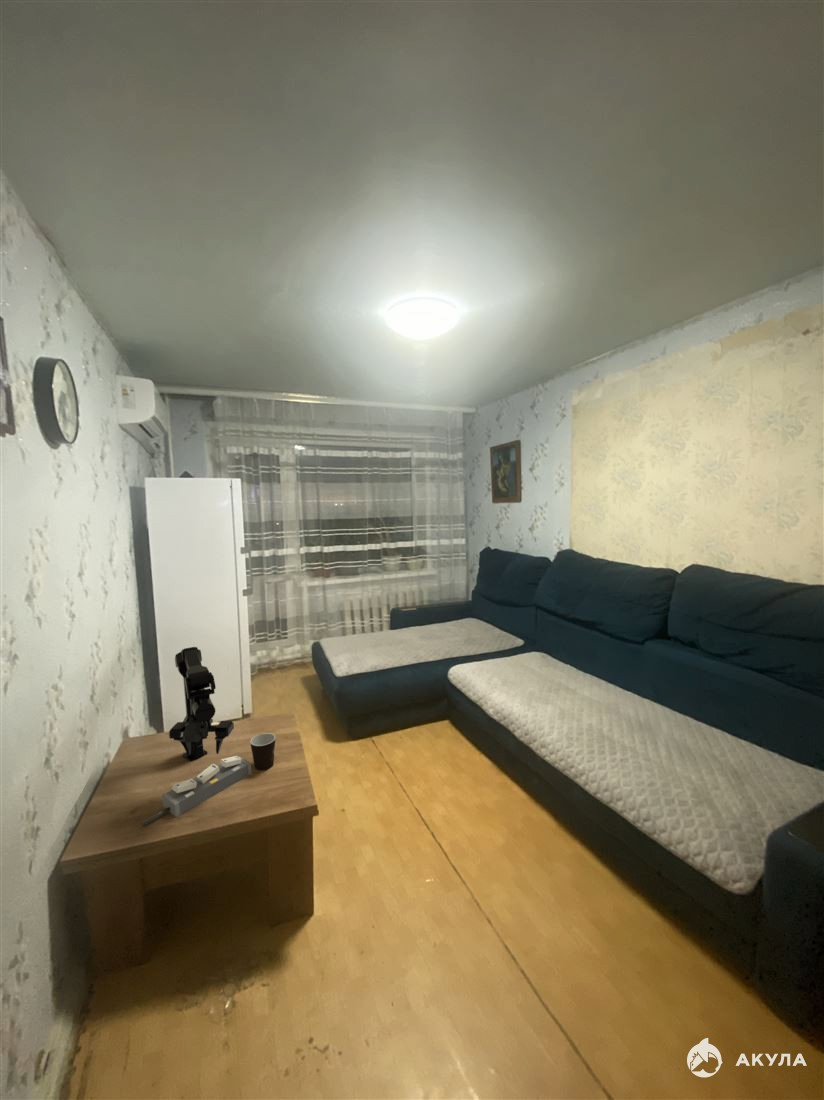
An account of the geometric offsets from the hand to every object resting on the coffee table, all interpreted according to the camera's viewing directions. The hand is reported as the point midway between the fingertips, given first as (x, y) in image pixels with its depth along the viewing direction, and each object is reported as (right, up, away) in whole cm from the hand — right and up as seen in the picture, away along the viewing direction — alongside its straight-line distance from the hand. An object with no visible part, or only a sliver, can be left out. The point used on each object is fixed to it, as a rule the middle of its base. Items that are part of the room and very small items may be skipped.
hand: (203, 753), depth 145 cm
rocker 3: (+6, -6, +7) cm, 11 cm away
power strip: (-1, -13, -2) cm, 13 cm away
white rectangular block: (-3, -8, -6) cm, 10 cm away
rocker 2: (+1, -7, 0) cm, 7 cm away
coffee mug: (+16, -11, +15) cm, 24 cm away
